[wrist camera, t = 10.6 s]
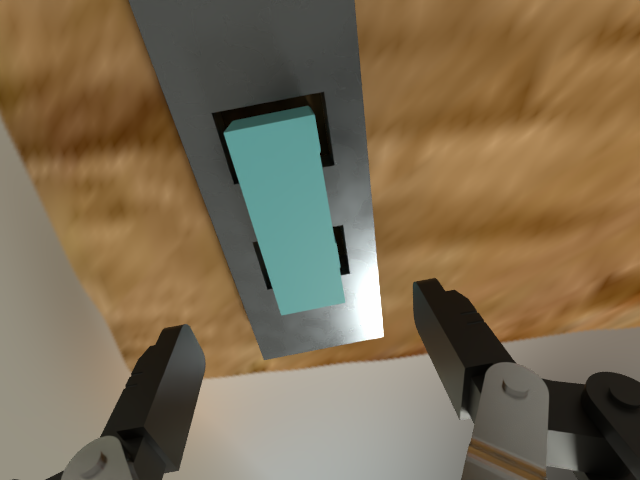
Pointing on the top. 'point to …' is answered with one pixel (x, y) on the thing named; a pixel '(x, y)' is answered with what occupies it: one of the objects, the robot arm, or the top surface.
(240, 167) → the teal rectangular block
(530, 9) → the top surface
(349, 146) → the grey board with holes
